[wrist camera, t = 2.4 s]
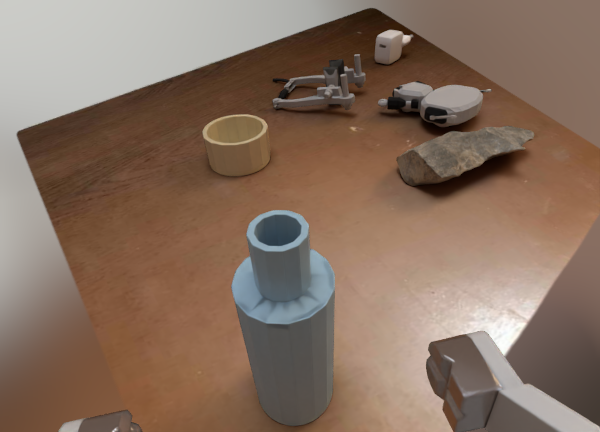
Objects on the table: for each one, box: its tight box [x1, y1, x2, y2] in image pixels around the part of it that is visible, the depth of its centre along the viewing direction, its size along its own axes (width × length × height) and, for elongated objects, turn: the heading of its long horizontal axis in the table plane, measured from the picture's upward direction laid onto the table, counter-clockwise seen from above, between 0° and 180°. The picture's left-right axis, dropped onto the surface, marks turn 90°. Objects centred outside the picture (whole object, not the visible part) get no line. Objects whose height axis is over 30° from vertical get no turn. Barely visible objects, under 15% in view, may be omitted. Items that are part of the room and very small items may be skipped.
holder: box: [202, 115, 270, 176], centre depth 56 cm, size 9×9×5 cm
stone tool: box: [397, 126, 534, 186], centre depth 53 cm, size 12×6×20 cm
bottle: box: [231, 210, 335, 426], centre depth 26 cm, size 6×6×17 cm
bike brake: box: [273, 54, 366, 110], centre depth 72 cm, size 14×7×20 cm
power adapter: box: [375, 30, 413, 65], centre depth 87 cm, size 11×5×6 cm, turn 141°
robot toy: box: [378, 81, 492, 127], centre depth 65 cm, size 12×4×15 cm
